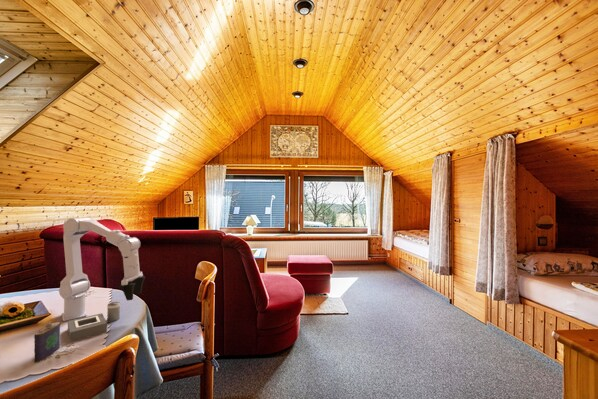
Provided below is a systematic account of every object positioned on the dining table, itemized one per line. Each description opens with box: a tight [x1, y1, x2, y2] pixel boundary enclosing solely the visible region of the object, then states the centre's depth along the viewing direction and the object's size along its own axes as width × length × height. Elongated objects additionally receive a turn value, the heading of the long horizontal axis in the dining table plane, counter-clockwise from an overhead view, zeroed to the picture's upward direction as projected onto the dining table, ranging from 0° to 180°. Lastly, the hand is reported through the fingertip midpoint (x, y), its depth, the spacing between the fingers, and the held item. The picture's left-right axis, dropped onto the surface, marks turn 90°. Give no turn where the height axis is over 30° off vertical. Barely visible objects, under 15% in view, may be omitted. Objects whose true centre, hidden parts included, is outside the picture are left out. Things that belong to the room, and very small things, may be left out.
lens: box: [106, 301, 121, 323], centre depth 115 cm, size 4×4×7 cm
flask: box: [33, 321, 61, 363], centre depth 89 cm, size 9×3×11 cm, turn 8°
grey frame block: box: [67, 312, 108, 343], centre depth 105 cm, size 12×11×4 cm
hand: (134, 296), depth 114 cm, fingers open, 7 cm apart
